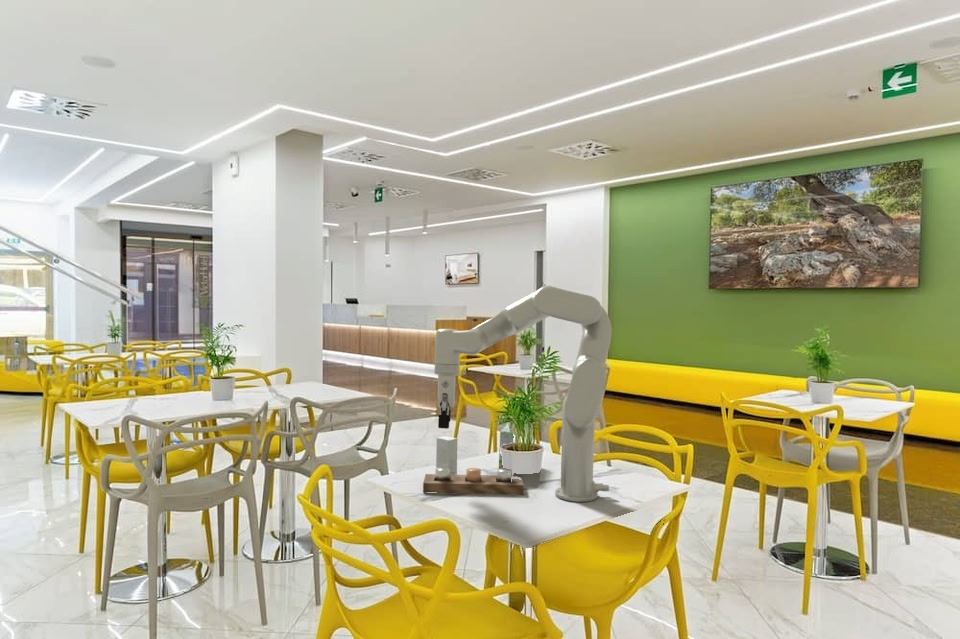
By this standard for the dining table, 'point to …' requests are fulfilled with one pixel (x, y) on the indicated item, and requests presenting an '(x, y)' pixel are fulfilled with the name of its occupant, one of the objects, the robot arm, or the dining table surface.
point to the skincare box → (447, 453)
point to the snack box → (504, 441)
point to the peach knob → (473, 475)
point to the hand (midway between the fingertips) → (444, 424)
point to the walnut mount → (472, 485)
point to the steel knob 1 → (442, 474)
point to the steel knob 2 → (504, 475)
